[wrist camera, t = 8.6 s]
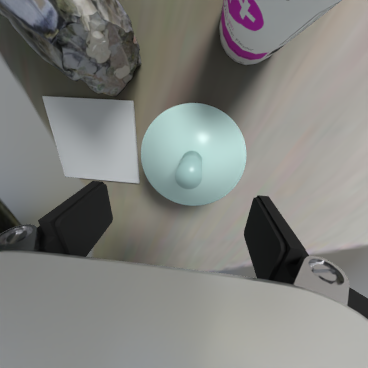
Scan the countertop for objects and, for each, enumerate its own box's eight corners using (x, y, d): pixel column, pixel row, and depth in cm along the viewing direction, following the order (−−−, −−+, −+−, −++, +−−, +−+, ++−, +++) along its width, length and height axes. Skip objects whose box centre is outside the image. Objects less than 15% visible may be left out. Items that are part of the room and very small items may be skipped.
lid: (139, 100, 20) (113, 97, 14) (256, 106, 19) (279, 105, 13) (145, 198, 26) (129, 224, 20) (234, 207, 25) (243, 236, 19)
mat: (44, 96, 26) (42, 96, 26) (133, 100, 25) (132, 100, 25) (66, 175, 32) (65, 176, 32) (139, 182, 31) (139, 183, 31)
